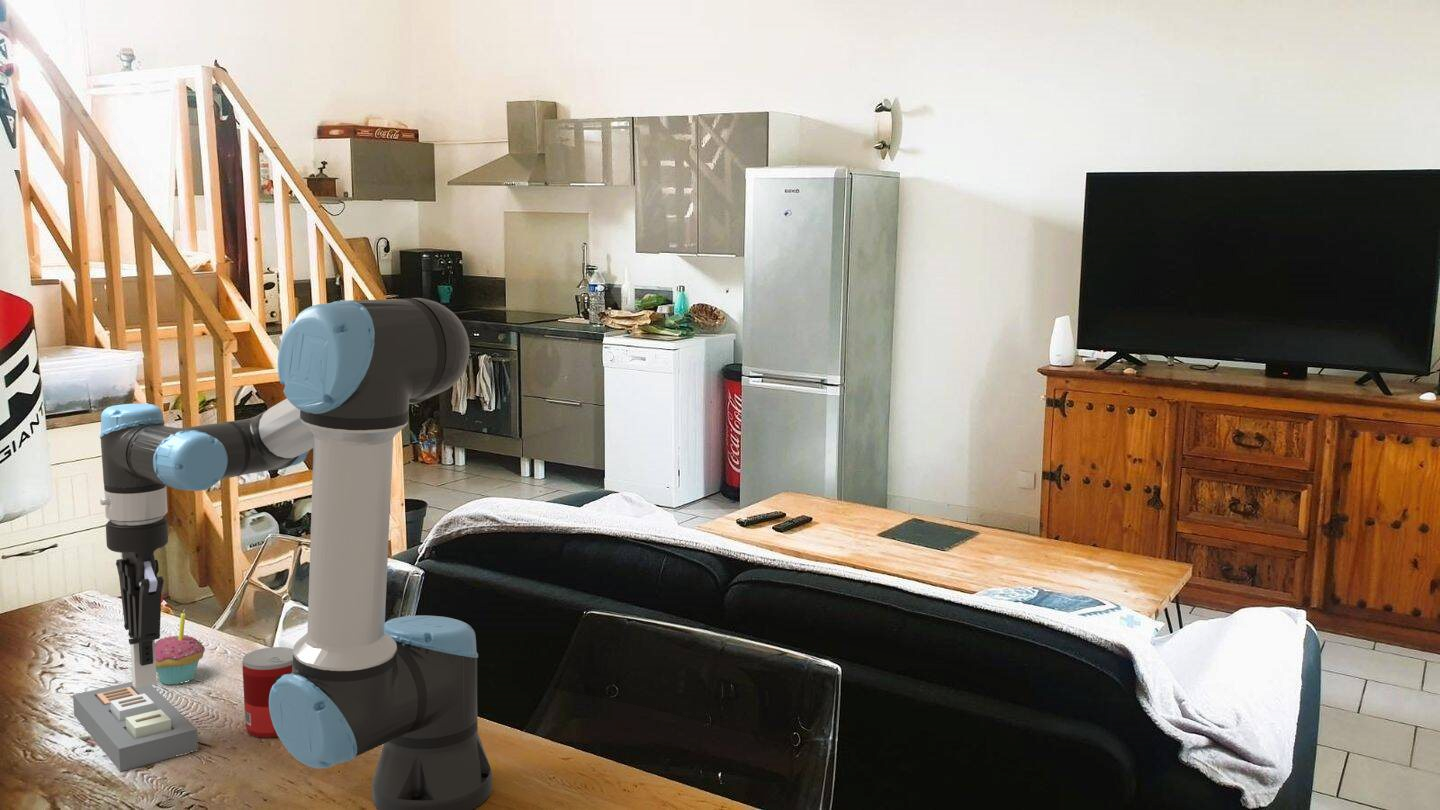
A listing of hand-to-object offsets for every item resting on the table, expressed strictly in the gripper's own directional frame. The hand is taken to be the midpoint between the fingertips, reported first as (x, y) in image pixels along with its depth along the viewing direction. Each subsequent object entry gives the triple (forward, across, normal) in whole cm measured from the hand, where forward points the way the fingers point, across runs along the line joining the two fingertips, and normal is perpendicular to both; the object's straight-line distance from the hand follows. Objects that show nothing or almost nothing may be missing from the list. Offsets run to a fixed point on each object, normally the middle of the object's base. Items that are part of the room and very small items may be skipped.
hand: (144, 684), depth 162 cm
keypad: (+10, -7, 0) cm, 12 cm away
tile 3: (+9, -15, 0) cm, 17 cm away
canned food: (+10, +4, +16) cm, 19 cm away
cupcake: (+10, -24, +11) cm, 28 cm away
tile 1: (+7, 0, 0) cm, 7 cm away
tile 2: (+7, -7, 0) cm, 10 cm away
